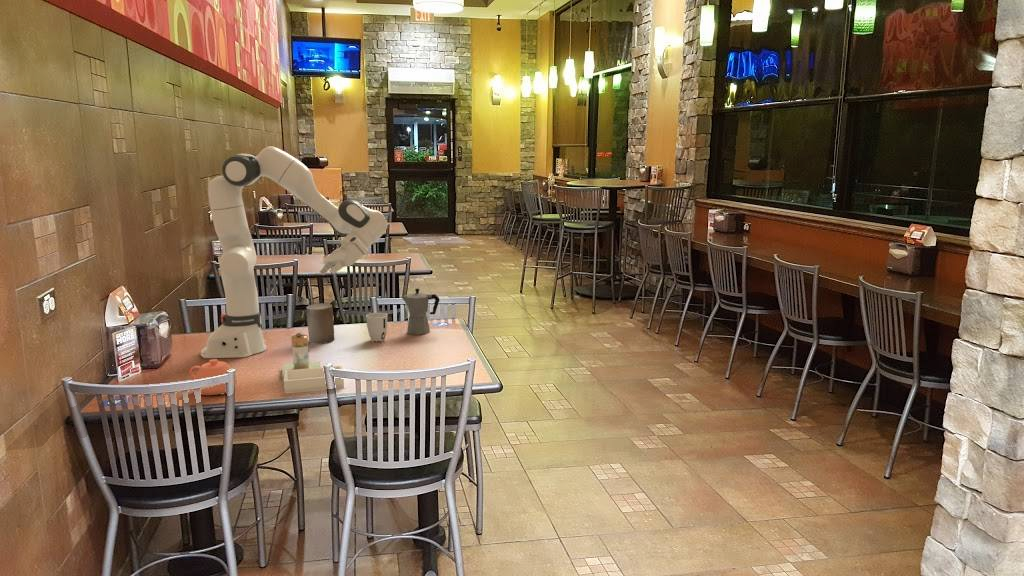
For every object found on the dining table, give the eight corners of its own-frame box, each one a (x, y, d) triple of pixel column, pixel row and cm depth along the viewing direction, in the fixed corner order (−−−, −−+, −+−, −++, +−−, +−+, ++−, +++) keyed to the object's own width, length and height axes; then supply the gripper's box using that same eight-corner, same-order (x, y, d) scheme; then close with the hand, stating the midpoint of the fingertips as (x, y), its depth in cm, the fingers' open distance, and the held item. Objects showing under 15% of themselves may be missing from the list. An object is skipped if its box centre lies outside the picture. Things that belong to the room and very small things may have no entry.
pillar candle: (337, 337, 275) (335, 299, 272) (330, 343, 265) (328, 305, 262) (313, 337, 275) (310, 300, 272) (305, 344, 266) (302, 305, 263)
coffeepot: (400, 335, 277) (398, 290, 274) (404, 329, 287) (403, 286, 283) (438, 335, 277) (437, 291, 273) (441, 329, 286) (440, 286, 282)
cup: (386, 343, 266) (385, 317, 264) (365, 343, 266) (363, 317, 264) (390, 337, 274) (389, 312, 272) (369, 337, 274) (368, 312, 272)
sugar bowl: (230, 398, 209) (227, 365, 207) (182, 399, 208) (178, 366, 206) (242, 384, 221) (240, 353, 219) (197, 385, 220) (194, 354, 218)
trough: (284, 393, 212) (283, 381, 211) (285, 382, 222) (285, 370, 221) (344, 388, 217) (343, 375, 216) (342, 377, 227) (341, 365, 226)
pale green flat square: (282, 380, 224) (281, 375, 224) (283, 368, 236) (283, 364, 235) (320, 376, 228) (320, 372, 227) (320, 365, 239) (319, 361, 239)
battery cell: (293, 371, 228) (290, 336, 226) (293, 366, 233) (291, 332, 231) (309, 370, 230) (307, 334, 227) (309, 365, 234) (307, 331, 232)
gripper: (336, 242, 256) (309, 267, 250) (359, 238, 239) (331, 265, 233) (347, 254, 258) (321, 280, 252) (370, 251, 242) (343, 278, 236)
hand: (326, 273), depth 243 cm, fingers open, 8 cm apart
